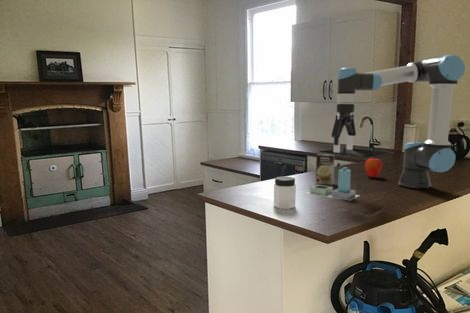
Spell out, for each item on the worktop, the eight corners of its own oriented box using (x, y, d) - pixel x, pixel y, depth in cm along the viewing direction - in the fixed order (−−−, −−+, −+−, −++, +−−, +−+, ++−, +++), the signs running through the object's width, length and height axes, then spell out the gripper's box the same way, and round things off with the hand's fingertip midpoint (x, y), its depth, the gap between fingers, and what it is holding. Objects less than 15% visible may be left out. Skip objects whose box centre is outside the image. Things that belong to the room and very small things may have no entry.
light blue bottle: (349, 195, 174) (350, 167, 172) (346, 197, 171) (347, 168, 169) (341, 194, 177) (342, 166, 175) (337, 196, 174) (338, 167, 172)
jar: (282, 202, 166) (282, 175, 164) (298, 206, 161) (299, 177, 159) (270, 206, 159) (270, 178, 158) (286, 210, 154) (287, 181, 152)
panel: (360, 197, 175) (360, 190, 175) (350, 202, 166) (350, 194, 166) (316, 190, 189) (316, 183, 188) (304, 195, 180) (304, 187, 179)
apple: (361, 177, 222) (362, 156, 221) (369, 175, 228) (370, 155, 227) (376, 179, 216) (377, 158, 214) (384, 177, 222) (385, 157, 220)
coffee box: (314, 185, 201) (315, 154, 199) (316, 182, 207) (317, 153, 205) (332, 186, 198) (334, 155, 196) (333, 184, 204) (335, 154, 202)
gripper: (349, 103, 182) (346, 147, 185) (324, 103, 163) (322, 152, 166) (364, 103, 177) (362, 149, 180) (341, 103, 158) (338, 154, 161)
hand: (343, 151), depth 173 cm, fingers open, 13 cm apart
